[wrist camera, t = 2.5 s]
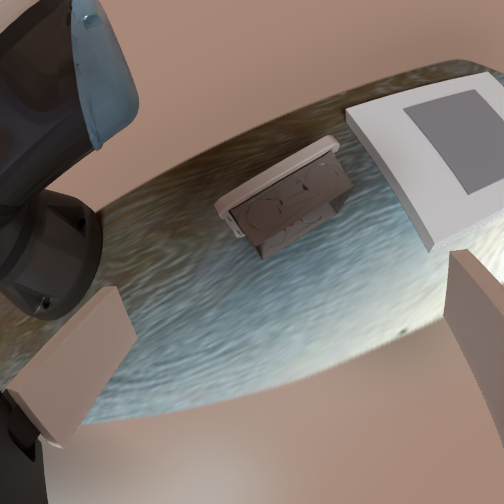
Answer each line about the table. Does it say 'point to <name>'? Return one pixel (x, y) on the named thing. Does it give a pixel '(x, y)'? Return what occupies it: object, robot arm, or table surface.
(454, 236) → the mounting board
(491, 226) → the table surface
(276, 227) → the electrical switch
